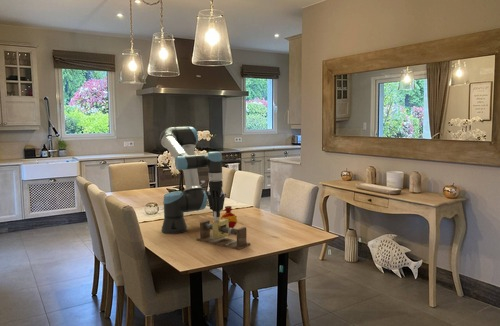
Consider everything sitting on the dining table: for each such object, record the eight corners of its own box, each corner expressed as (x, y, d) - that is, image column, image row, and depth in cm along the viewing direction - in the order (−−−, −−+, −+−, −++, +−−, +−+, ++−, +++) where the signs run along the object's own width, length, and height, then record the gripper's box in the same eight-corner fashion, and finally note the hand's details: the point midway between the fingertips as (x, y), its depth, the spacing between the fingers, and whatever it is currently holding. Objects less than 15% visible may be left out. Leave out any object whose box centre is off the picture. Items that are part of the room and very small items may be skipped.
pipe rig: (196, 240, 226) (196, 222, 225) (208, 235, 234) (208, 218, 233) (239, 250, 208) (238, 231, 207) (250, 244, 216) (250, 226, 215)
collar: (212, 238, 219) (212, 222, 218) (223, 234, 226) (223, 218, 225) (218, 239, 217) (218, 223, 216) (228, 235, 224) (228, 219, 223)
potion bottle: (222, 234, 236) (221, 209, 235) (218, 229, 246) (218, 205, 245) (239, 232, 239) (239, 207, 237) (235, 228, 249) (235, 204, 247)
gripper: (202, 180, 220) (203, 222, 223) (220, 182, 213) (221, 225, 215) (211, 178, 226) (212, 219, 229) (229, 180, 219) (230, 222, 221)
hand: (216, 222), depth 222 cm, fingers closed
